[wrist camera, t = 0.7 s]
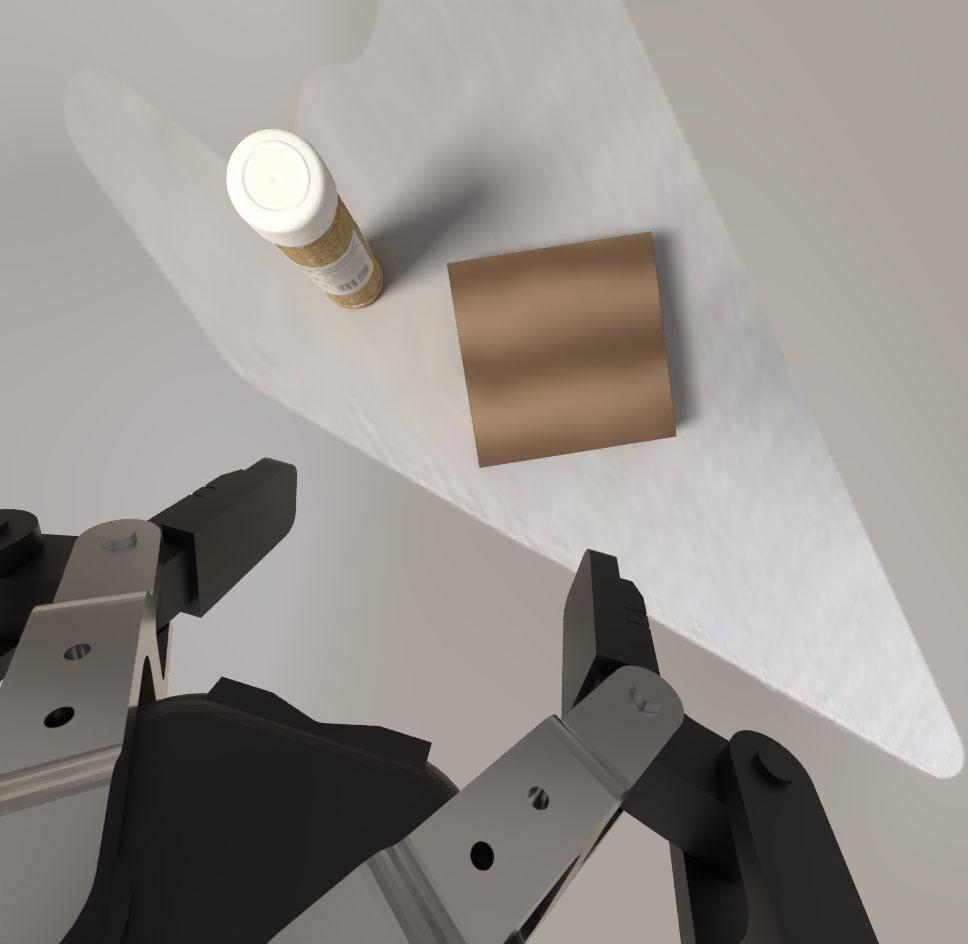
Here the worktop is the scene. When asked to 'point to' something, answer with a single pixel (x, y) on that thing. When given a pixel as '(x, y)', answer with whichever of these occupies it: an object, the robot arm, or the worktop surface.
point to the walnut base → (563, 349)
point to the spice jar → (303, 214)
